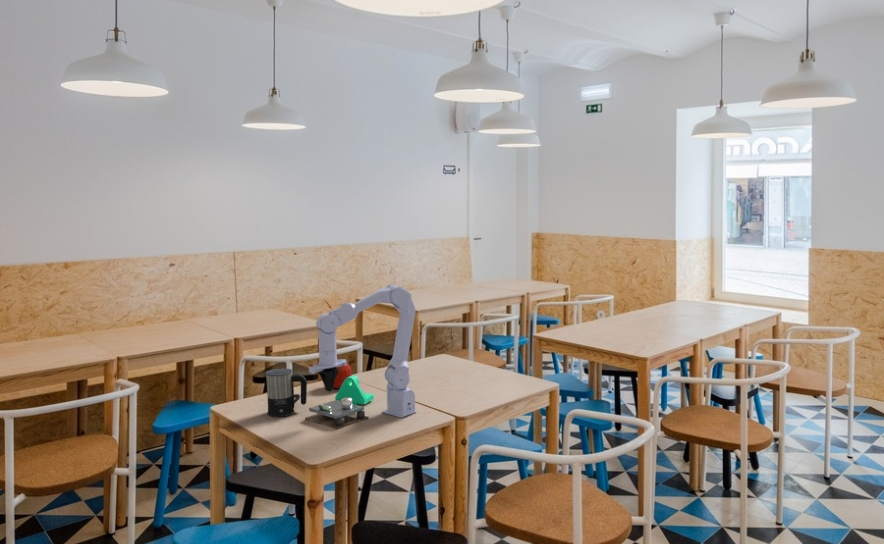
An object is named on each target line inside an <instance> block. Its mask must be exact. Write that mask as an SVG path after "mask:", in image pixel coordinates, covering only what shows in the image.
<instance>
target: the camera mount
mask: <svg viewBox="0 0 884 544" xmlns="http://www.w3.org/2000/svg"><path fill="white" fill-rule="evenodd" d="M374 396H375V395H374V394H373V393H368V392H367V393H365V392H364V391H363V390H362V388H361V386H360V379H359V377H358V376H356V375H354V374H352V376H350V377H348V378H346V379H345V380H344V382H343V384H342V386H341V387H340V389H338V391H337V393H336V395H335V397H334V398H335V399H334V401H335V400H339V401H341V399H342V398H347V397H349V398H352V404H354V405H357V404H358V405H360V404H361V405H366V404H367V403H369V402H370V401H372V400H374V399H375V398H374Z"/></svg>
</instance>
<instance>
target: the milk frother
mask: <svg viewBox="0 0 884 544" xmlns="http://www.w3.org/2000/svg"><path fill="white" fill-rule="evenodd" d="M264 375H265V376H266V378H265V379H266V390H267V391H266V393H267V413H266V414H267V416H270V417H274V418H279V417H281V418H283V417H287V416H291V415H292V414H294V413H295V409H294V408H295V404H296V403H297V402H298V401H299V400H300V404H301V405H302V406H303V405H304V406H305V405H306V404H307V398H308V397H307V395H308V394H307V393H308V392H307V391H308V390H307V389H308V382H307V379H306V377H305V376H304V375H303V374H301V373H293V369H290V368H274V369H270V370H267V371H265V373H264ZM294 381H298V382H299V383H300V394H298V393H296V394H295V391H294V390H295V389H294Z"/></svg>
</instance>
